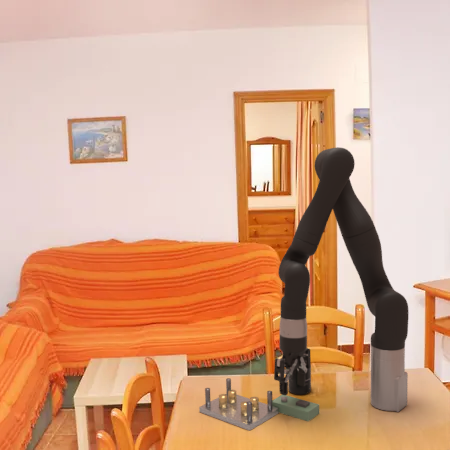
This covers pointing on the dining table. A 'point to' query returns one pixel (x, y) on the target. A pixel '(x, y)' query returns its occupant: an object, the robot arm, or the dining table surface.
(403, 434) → the dining table surface
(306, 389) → the supplement bottle
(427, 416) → the dining table surface
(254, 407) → the chassis
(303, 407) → the board
